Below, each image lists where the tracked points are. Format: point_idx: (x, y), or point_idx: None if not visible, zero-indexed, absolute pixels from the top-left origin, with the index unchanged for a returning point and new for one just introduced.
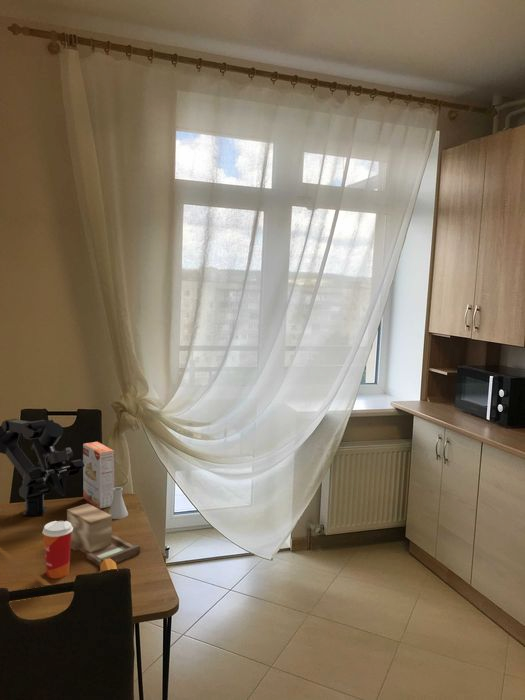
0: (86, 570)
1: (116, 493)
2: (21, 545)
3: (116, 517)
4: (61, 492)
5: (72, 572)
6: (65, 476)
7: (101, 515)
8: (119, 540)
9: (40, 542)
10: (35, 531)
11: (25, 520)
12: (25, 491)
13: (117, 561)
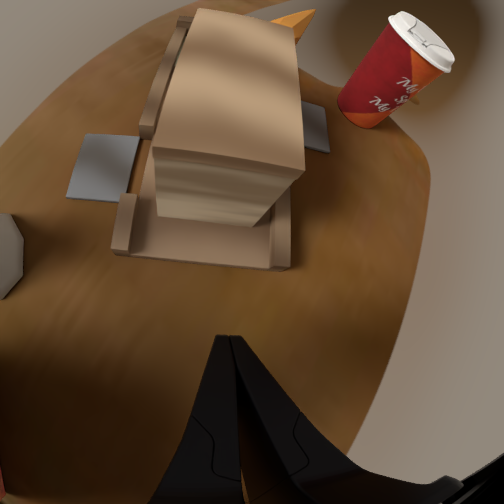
0: (303, 76)
1: None
2: (367, 319)
3: (9, 226)
4: (255, 360)
5: (329, 93)
6: (167, 500)
7: (224, 26)
8: (169, 67)
9: (320, 294)
10: None
11: None
12: None
13: None
